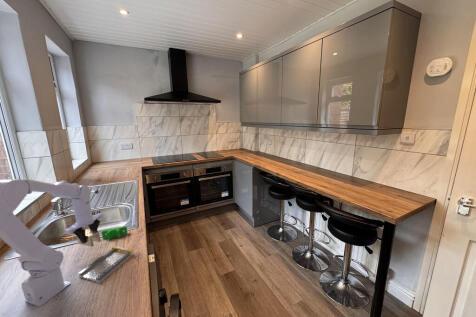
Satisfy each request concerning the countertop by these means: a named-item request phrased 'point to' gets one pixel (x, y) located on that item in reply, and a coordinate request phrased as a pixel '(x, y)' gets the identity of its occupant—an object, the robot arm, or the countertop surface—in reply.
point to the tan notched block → (90, 237)
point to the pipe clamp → (114, 233)
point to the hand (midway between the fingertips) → (89, 239)
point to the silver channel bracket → (106, 264)
